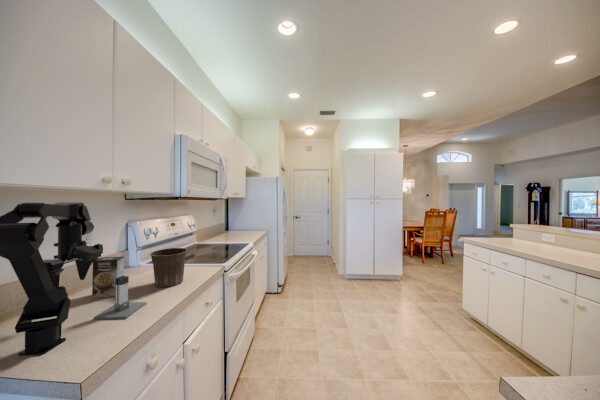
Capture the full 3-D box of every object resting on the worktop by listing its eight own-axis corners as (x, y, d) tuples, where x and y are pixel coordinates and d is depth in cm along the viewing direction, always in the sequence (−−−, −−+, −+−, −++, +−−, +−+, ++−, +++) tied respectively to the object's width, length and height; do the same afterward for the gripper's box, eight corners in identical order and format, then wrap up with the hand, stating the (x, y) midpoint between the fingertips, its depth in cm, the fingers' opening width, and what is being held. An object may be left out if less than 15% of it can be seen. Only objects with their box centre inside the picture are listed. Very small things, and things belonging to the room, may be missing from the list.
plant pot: (168, 291, 101) (168, 256, 101) (141, 287, 105) (141, 254, 105) (194, 279, 117) (194, 248, 117) (169, 276, 121) (169, 247, 121)
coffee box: (91, 298, 93) (91, 260, 93) (100, 292, 99) (100, 256, 100) (116, 296, 96) (116, 259, 96) (124, 290, 102) (124, 255, 102)
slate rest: (126, 318, 78) (126, 316, 78) (93, 319, 77) (93, 317, 77) (146, 303, 89) (146, 301, 89) (117, 304, 88) (117, 302, 88)
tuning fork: (120, 311, 81) (120, 279, 81) (114, 310, 82) (114, 278, 82) (129, 307, 84) (129, 276, 84) (123, 306, 85) (123, 275, 85)
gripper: (68, 244, 66) (68, 295, 66) (116, 234, 85) (115, 274, 85) (28, 244, 66) (28, 296, 65) (85, 234, 84) (85, 275, 84)
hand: (69, 284), depth 75 cm, fingers open, 9 cm apart
